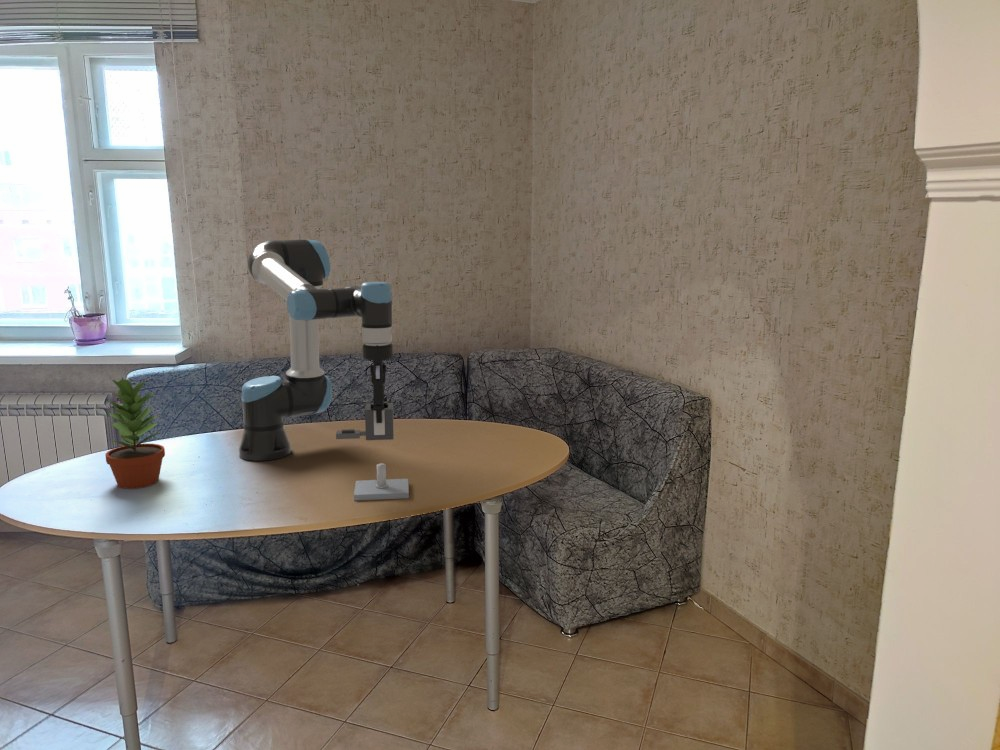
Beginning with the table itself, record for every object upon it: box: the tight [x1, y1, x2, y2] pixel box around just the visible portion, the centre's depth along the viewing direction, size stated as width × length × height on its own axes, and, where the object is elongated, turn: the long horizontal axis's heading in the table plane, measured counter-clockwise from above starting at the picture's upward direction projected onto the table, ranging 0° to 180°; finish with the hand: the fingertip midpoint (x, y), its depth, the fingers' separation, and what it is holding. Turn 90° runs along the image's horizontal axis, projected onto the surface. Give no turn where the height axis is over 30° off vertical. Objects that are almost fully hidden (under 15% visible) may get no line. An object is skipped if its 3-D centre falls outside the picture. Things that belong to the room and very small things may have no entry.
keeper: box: [353, 462, 410, 501], centre depth 200 cm, size 14×11×8 cm
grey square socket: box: [335, 402, 395, 441], centre depth 196 cm, size 15×7×8 cm, turn 98°
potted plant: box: [105, 376, 166, 490], centre depth 204 cm, size 15×15×30 cm
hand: (379, 430), depth 197 cm, fingers closed on grey square socket, 7 cm apart
